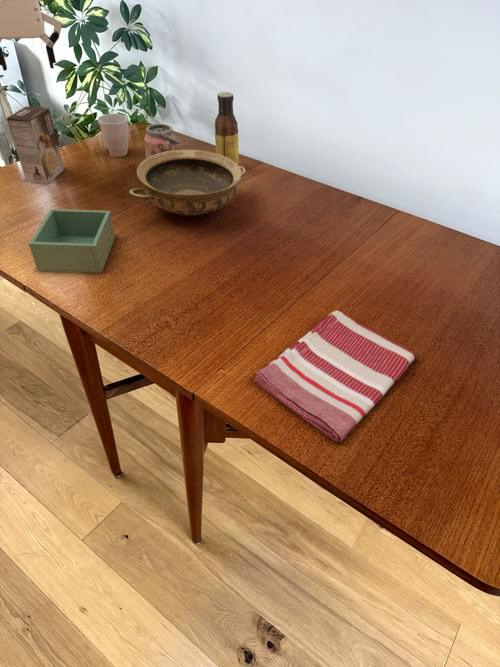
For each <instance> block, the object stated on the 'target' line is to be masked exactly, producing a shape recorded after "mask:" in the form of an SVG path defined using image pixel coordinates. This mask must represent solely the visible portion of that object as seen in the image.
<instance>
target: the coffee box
mask: <svg viewBox="0 0 500 667" xmlns="http://www.w3.org/2000/svg"><path fill="white" fill-rule="evenodd" d="M6 120H7V124H8V127H9V131H10V134H11V137H12V141H13V144H14V147H15V150H16V153H17V156H18V160H19V163H20V166H21V169H22V173H23V175H24V179H25V182H30V183H38V184H47V185H48V184H50V183H51V182H52V181H53V180H54V179H55V178H57V177H58V176H59V175H60V174H61V173H63V172H64V170H65V167H64V163H63V160H62V155H61V152H60V148H59V143H58V140H57V135H56V132H55V128H54V123H53V120H52V115H51V111H50V108H46V107H37V106H24V107H23V108H21V109H19V110H17V111H16V112H14V113H13V114H11V115H9V116H8V117H6Z"/></svg>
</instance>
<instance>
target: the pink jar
mask: <svg viewBox="0 0 500 667" xmlns="http://www.w3.org/2000/svg"><path fill="white" fill-rule="evenodd" d="M145 131H146V134H145V136H144V139H143V140H144V149H145V159H146V158H148V157H150V156H152V155H155V154H158V153H162V152H166V151H174V150H177V145H180V144H181V139H180V138H179V137H177V136H176V135H175V134H174V133H173V127H172V126H171V125H169V124H166V123H150V125H148V126H146V128H145Z"/></svg>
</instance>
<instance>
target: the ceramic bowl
mask: <svg viewBox="0 0 500 667" xmlns="http://www.w3.org/2000/svg"><path fill="white" fill-rule="evenodd" d="M246 173H247V170H246V168H245V167H244V166H242V165H239V164H236V163H235V162H234V161H232V160H231V159H229V158H227V157H225V156H222V155H219V154H216V152H212V151H207V150H199V149H176V150H174V151H166V152H162V153H158V154H155V155H152V156H150V157H148V158H146V157H145V159H143V161H141V162H140V163H139V165H138V166H137V168H136V175H137V178H138V179H139V181H140V182H141V183H142V186H141V187H134V188H131V189H129V191H128V194H129V196H131V197H132V198H133V199H134V198H135V199H138V200H149V201H150V202H151V203H152V204H154V205H155V206H157V208H160V209H162V210H164V211H166V212H168V213H173V214H178V215H180V216H184V217H196V216H200V215H204V214H209V213H212V212H215V211H218V210H220V209H222V208H223V207H225V206H226V205H228V204H229V203H230V202H231V201H232V200H233V198H234V197H235V194H236V191H237V184H238V183H239V181H240V180H241V179H242V178H243V177H245V175H246ZM138 193H142V194H138ZM143 193H144V194H143Z"/></svg>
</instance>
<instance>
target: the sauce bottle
mask: <svg viewBox="0 0 500 667" xmlns="http://www.w3.org/2000/svg"><path fill="white" fill-rule="evenodd" d="M234 100H235V98H234V93H232V92H227V91H221V92H218V93H217V102H218V110H217V111H218V114H217V116H216V118H215V119H214V138H215V139H214V141H215V142H214V143H215V153H216V154H219V155H222V156H225V157H227V158H229V159H231V160H232V161H234V162H235V163H236V164H238V165H239V164H240V163H239V162H240V161H239V158H240V157H239V128H238V127H239V126H238V121H237V119H236V117H235V114H234Z"/></svg>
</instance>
